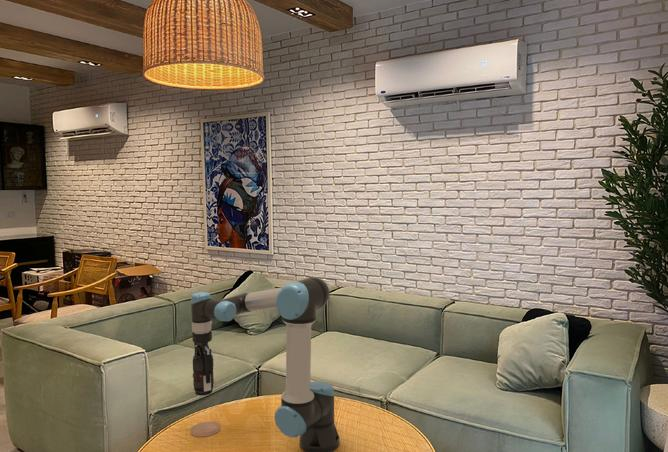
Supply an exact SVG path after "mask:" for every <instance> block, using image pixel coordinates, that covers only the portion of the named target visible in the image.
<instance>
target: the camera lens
mask: <svg viewBox="0 0 668 452" xmlns="http://www.w3.org/2000/svg"><path fill="white" fill-rule="evenodd" d="M203 356H204V355H203ZM211 358H212V369H213V370H214V357H213V354H212V353H211ZM203 360H204V361H205V359H202V358H200V355H195V356H194V355H193V357H192V371H193V373H192V378H193V379H192V380H193V382H192V383H193V390H194V394H195V395H196V396H201V397H202V396H203V397H204V396H208V395H210V394H212V393H213V389H214V384H215V382H214V380H215V379H214V373H213V374H211V390H209V391H205V392H204V379H203V374H204V369H203Z"/></svg>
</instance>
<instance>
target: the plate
mask: <svg viewBox="0 0 668 452" xmlns="http://www.w3.org/2000/svg"><path fill="white" fill-rule="evenodd" d="M221 429H222V427H221V424H220V423H218V422H216V421H203V422H199V423H197V424H193V426H192V427H190V429H189V433H190V435H191V436H193V437H196V438H207V437H212V436H214V435H216V434H218V433H219V432H220V431H221Z"/></svg>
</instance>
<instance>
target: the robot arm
mask: <svg viewBox="0 0 668 452" xmlns="http://www.w3.org/2000/svg"><path fill="white" fill-rule="evenodd" d="M190 299H191V300H190V307H191V309H190V310H191V332H192V333H191V334H192V342H193V345H194V346H193V347H194V355H193V356H195V355H200V358H202V359H205V361H204V360H203V369H204V374H203V379H204V392H205V391H209V390H211V374H213V375H214V368H213V369H212V358H211V354H212V349H211V348H210V347H209V344H208V343H209V342H211V341H212V339H213V334H212V333H213V331H212V324H213V321H212V320H216V321H220V322H230V321H232V320H234V318H235V317H236V316H237V315H240V314H245V313H251V312H256V311H264V310H270V309H276V310H277V311H278V313H279V315H280V316H281V317H282V322H283V323H284V324H285V326H286V339H285V340H286V343H285V345H286V348H285V351H286V353H285V354H286V355H285V358H286V359H285V364H286V365H285V390H284V391H283V392H282V393H281V399H280V400H281V401H280V402H281V403H280V406H279V407H278V408H277V409H276V410H275V412H274V422H275V425H276V427H277V429H278V430H279V431H280V432H281V433H282V434H283V435H284V436H286V437H287V438H291V439H293V438H295V439H296V438H298V437H299V447H300V449H301V450H302V451H304V452H333V451H335V450H336V449H338V447H339V446H340V435H339V432H338V429H337V427H336V424H335V423H336V422H335V390H334V387H333V386H332V385H331V384H329V383H327V382H321V381H311V371H312V370H311V368H312V367H311V364H312V356H311V355H312V349H311V348H312V325H313V324H314V323H315V322H316V321H317V310H319V309H321V308H323V307H325V305H327V303H328V301H329V299H330V287H329V286H328V284H327V283H326V282H325V281H324V280H323V279H322V278H319V277H315V276H314V277H313V276H312V277H308V278H305V279H301V280H297V281H293V282H289V283H287V284H285V285H284V286H282V287H276V288H271V289H270V288H269V289H266V290H260V291H259V290H258V291H253V292H243V293H240V294H237V295H233V296H230V297H227V298H222V299H212V297H211V293H209V292H206V291H198V292H194V293H192V295H191V297H190ZM203 355H204V356H203Z"/></svg>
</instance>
